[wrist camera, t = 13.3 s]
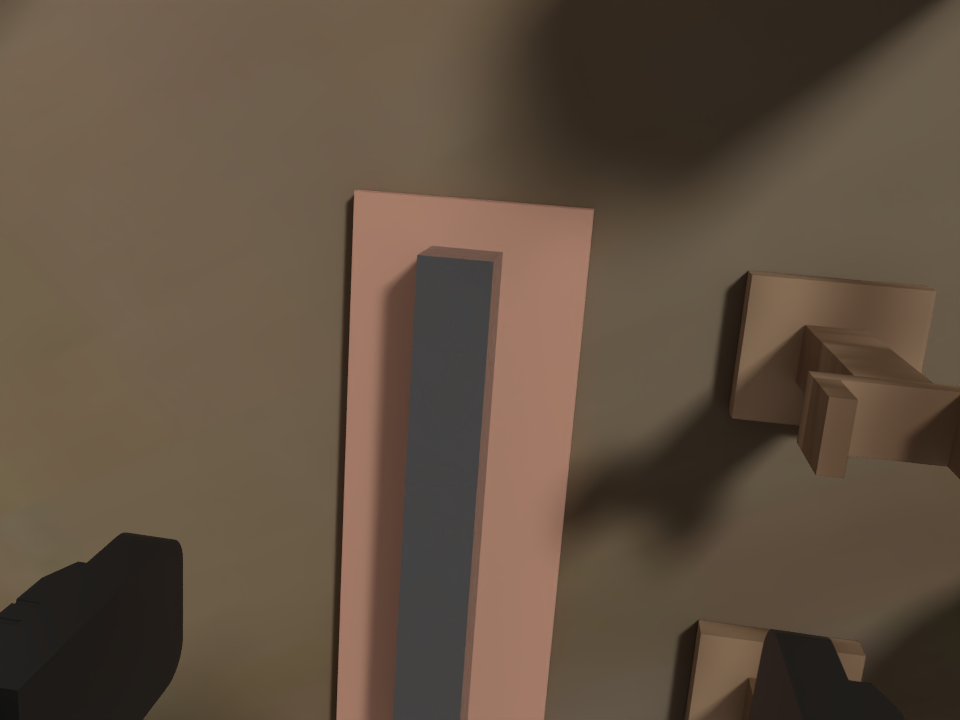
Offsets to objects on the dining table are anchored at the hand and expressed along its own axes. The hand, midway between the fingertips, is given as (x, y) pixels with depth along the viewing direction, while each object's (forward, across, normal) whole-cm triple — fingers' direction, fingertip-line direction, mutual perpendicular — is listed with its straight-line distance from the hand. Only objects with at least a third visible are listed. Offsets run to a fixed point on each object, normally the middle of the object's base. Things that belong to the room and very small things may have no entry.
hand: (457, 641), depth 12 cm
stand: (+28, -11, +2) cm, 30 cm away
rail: (+27, +4, +11) cm, 29 cm away
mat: (+28, +4, +11) cm, 30 cm away
